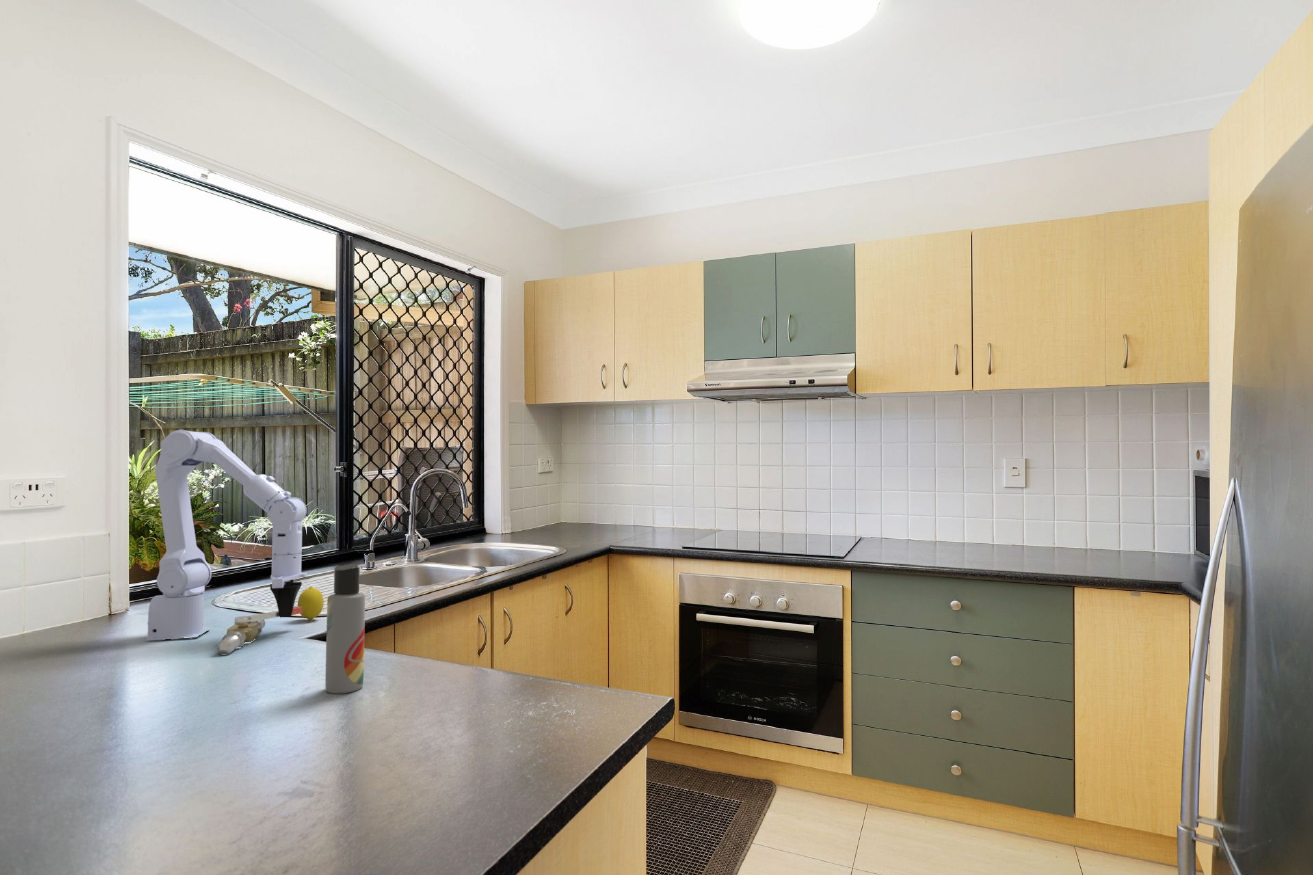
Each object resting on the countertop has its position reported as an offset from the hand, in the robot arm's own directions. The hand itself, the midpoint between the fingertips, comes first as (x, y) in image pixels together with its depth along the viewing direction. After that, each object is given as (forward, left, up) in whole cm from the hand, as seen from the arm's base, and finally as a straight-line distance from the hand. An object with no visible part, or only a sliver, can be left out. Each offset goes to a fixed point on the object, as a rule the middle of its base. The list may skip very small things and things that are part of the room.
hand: (285, 616), depth 152 cm
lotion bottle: (+19, -44, -4) cm, 48 cm away
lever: (-3, -1, 0) cm, 3 cm away
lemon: (+2, +14, -4) cm, 15 cm away
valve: (-7, -5, -4) cm, 9 cm away
